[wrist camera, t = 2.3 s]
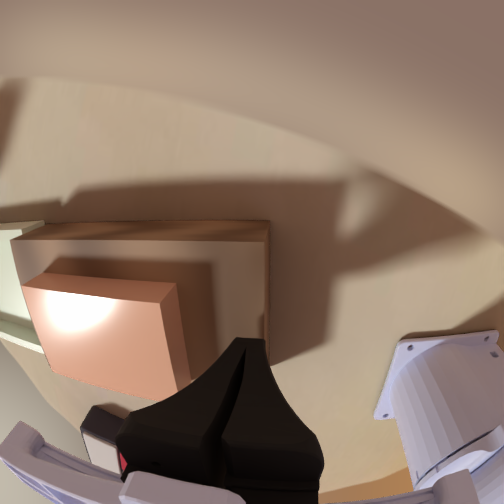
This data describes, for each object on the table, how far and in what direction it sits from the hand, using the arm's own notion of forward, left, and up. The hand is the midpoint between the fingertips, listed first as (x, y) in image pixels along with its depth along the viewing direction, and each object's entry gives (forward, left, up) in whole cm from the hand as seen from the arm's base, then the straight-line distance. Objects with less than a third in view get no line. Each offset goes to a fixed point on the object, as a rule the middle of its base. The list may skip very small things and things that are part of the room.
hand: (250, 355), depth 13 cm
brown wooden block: (+7, 0, -5) cm, 9 cm away
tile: (+8, 0, -1) cm, 8 cm away
